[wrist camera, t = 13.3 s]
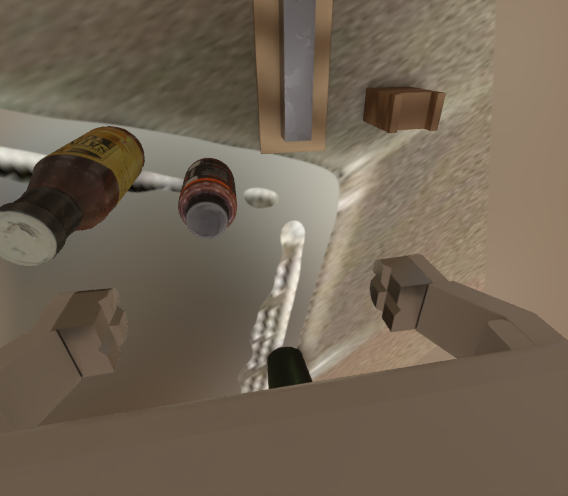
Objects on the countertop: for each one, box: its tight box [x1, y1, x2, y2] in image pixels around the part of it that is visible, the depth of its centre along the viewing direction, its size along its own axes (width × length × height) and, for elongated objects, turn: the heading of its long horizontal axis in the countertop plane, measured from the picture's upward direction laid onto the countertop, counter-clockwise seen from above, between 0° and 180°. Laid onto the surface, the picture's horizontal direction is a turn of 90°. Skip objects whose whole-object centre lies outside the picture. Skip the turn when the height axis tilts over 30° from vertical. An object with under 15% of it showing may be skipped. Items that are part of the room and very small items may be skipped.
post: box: [363, 87, 446, 133], centre depth 35 cm, size 4×5×7 cm, turn 91°
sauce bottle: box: [0, 126, 145, 266], centre depth 28 cm, size 7×6×20 cm
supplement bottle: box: [178, 158, 237, 239], centre depth 35 cm, size 6×6×11 cm
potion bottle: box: [267, 347, 312, 389], centre depth 52 cm, size 8×8×18 cm
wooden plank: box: [253, 0, 333, 154], centre depth 33 cm, size 24×8×1 cm, turn 1°
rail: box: [278, 0, 316, 142], centre depth 32 cm, size 20×3×3 cm, turn 1°
